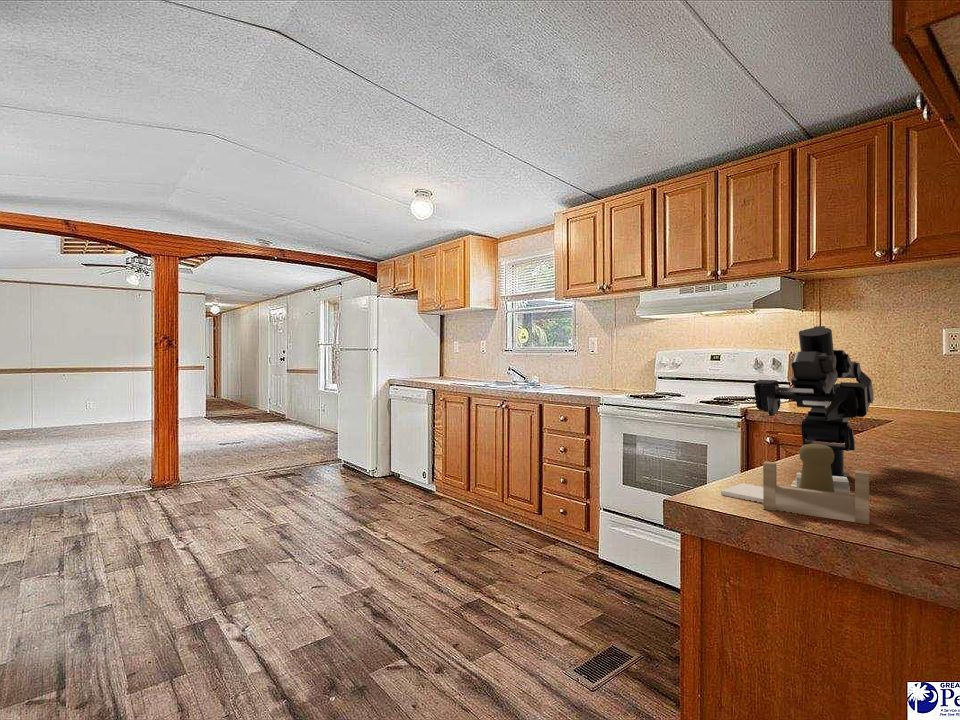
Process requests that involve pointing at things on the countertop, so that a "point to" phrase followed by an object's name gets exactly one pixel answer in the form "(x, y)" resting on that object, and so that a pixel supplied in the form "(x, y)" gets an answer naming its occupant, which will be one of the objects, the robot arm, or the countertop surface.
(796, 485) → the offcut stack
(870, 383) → the robot arm
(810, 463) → the cork
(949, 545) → the countertop surface
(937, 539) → the countertop surface
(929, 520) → the countertop surface
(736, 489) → the ceramic pad
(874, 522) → the countertop surface
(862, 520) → the birch rack
